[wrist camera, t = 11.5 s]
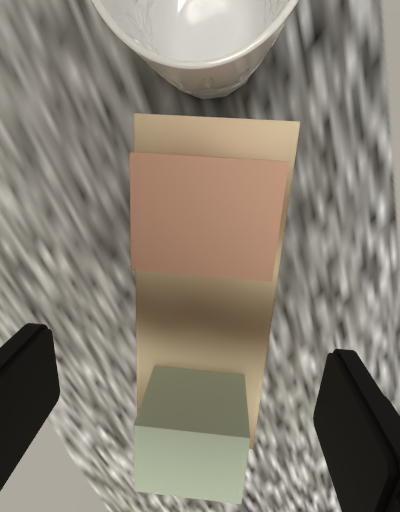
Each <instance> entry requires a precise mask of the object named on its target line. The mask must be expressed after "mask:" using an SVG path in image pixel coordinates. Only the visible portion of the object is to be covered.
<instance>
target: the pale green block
mask: <svg viewBox="0 0 400 512" xmlns="http://www.w3.org/2000/svg"><path fill="white" fill-rule="evenodd" d="M249 444H250V430H249V418H248V407H247V395H246V384H245V374H235V373H225V372H215V371H205V370H195V369H185V368H175V367H164V366H154V367H153V370H152V373H151V376H150V379H149V382H148V385H147V388H146V391H145V394H144V397H143V400H142V403H141V405H140V408H139V411H138V414H137V417H136V420H135V423H134V476H135V491H137V492H145V493H153V494H161V495H170V496H178V497H186V498H194V499H202V500H210V501H218V502H226V503H235V504H241V501H242V494H243V487H244V480H245V472H246V465H247V458H248V451H249Z"/></svg>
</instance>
